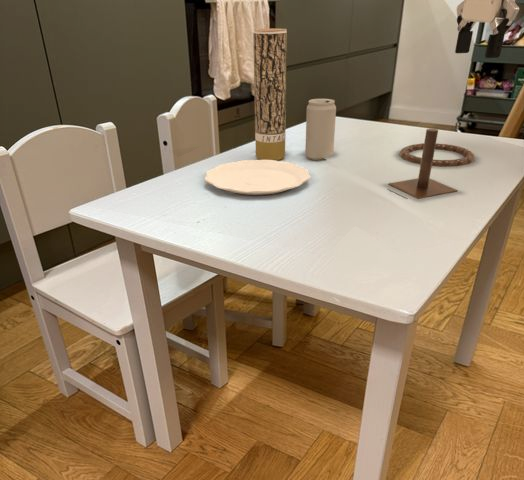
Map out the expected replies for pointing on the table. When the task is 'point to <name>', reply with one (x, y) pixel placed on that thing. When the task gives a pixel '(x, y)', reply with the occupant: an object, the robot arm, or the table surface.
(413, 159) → the ring
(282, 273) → the table surface
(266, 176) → the plate
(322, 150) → the beverage can
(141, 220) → the table surface
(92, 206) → the table surface
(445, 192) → the peg stand
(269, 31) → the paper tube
